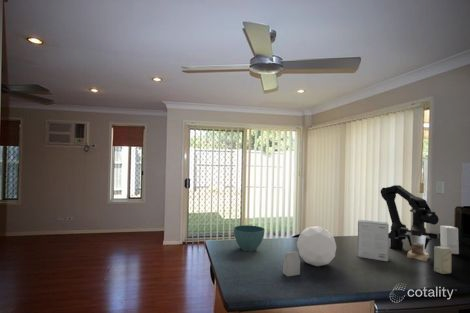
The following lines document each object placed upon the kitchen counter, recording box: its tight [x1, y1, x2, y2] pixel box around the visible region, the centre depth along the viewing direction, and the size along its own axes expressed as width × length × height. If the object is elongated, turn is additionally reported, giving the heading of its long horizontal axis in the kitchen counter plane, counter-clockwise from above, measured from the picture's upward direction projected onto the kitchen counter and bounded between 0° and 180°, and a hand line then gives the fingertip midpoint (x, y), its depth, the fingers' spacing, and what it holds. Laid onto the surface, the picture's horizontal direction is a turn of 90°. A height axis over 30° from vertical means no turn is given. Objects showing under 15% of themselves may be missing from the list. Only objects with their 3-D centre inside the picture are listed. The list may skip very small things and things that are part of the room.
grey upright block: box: [282, 250, 301, 277], centre depth 129 cm, size 4×7×10 cm, turn 115°
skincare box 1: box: [439, 225, 460, 255], centre depth 173 cm, size 8×7×16 cm
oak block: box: [406, 249, 429, 262], centre depth 160 cm, size 9×9×3 cm
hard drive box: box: [357, 219, 390, 262], centre depth 157 cm, size 16×8×20 cm, turn 64°
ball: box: [296, 225, 337, 267], centre depth 144 cm, size 19×20×20 cm
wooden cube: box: [411, 242, 425, 255], centre depth 160 cm, size 5×5×5 cm
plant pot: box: [233, 224, 265, 252], centre depth 164 cm, size 18×18×12 cm
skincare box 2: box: [433, 245, 452, 275], centre depth 138 cm, size 6×4×12 cm
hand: (418, 248), depth 160 cm, fingers open, 6 cm apart
